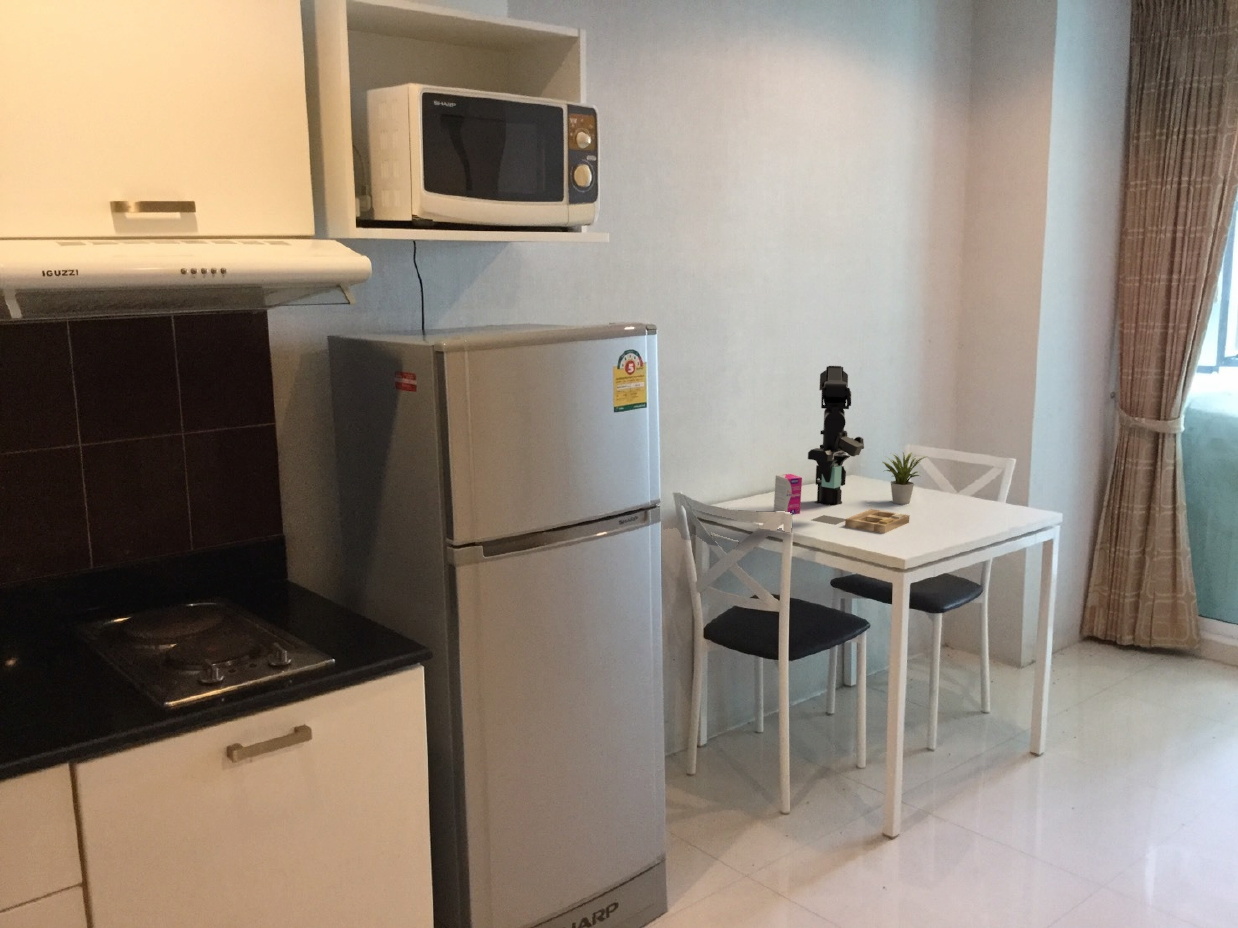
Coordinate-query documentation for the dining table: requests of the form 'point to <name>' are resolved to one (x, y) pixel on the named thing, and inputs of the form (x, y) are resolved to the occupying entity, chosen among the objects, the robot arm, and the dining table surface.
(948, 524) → the dining table surface
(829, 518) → the mat
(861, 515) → the socket block
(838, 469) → the plug
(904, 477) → the house plant
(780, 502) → the supplement box
